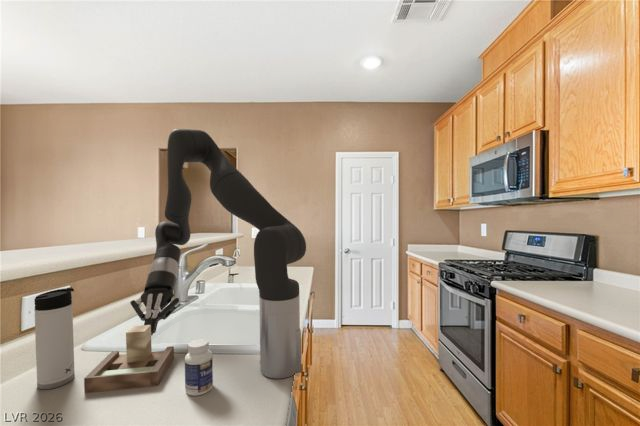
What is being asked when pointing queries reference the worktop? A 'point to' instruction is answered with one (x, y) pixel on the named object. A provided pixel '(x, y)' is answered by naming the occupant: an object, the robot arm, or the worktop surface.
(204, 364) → the pill bottle
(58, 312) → the travel mug
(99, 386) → the box
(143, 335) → the birch block
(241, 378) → the worktop surface
